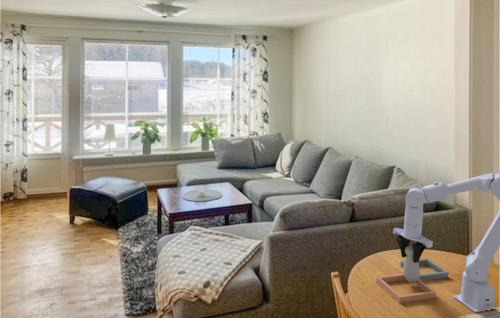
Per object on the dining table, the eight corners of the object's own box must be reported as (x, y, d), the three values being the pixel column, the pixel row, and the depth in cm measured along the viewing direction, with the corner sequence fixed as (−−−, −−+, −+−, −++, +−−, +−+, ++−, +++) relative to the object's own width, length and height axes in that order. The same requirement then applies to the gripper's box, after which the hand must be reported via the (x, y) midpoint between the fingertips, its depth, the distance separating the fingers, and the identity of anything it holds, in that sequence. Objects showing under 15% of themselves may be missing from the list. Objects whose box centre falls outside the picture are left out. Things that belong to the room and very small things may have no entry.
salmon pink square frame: (435, 297, 128) (436, 292, 128) (398, 302, 125) (399, 297, 125) (409, 277, 141) (410, 272, 141) (376, 281, 138) (376, 276, 138)
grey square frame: (448, 277, 142) (448, 272, 141) (419, 281, 139) (420, 276, 139) (426, 263, 153) (427, 258, 153) (400, 266, 150) (400, 261, 150)
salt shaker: (416, 272, 139) (416, 242, 135) (423, 282, 134) (423, 250, 130) (400, 274, 139) (399, 244, 135) (407, 284, 134) (406, 253, 130)
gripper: (439, 227, 126) (436, 264, 129) (403, 214, 139) (400, 249, 141) (426, 231, 123) (422, 269, 126) (390, 217, 135) (387, 253, 138)
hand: (410, 259), depth 133 cm, fingers closed on salt shaker, 4 cm apart
